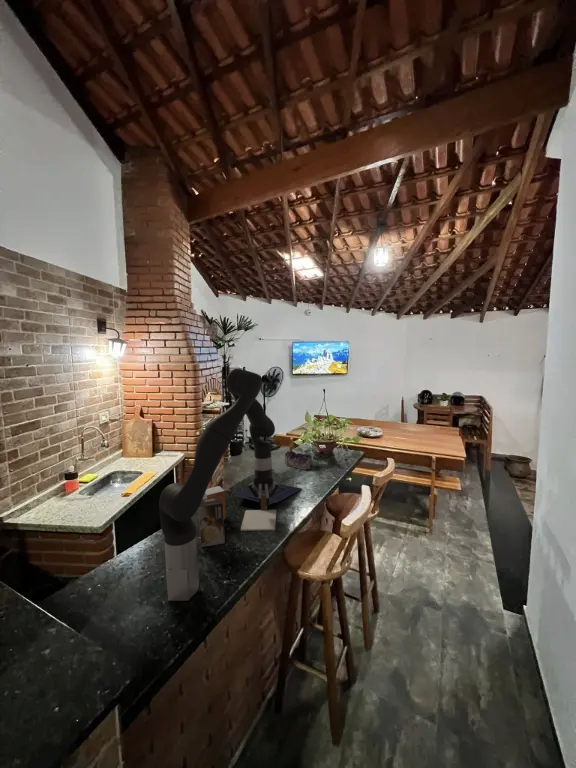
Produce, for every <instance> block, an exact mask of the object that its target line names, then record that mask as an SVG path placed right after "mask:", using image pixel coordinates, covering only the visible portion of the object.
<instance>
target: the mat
mask: <svg viewBox="0 0 576 768" xmlns="http://www.w3.org/2000/svg"><path fill="white" fill-rule="evenodd" d="M276 519H277V509H267V510H266V511H261V509H246V510H245V511H244V515H243V519H242V522H241V526H240V531H244V532H245V531H247V532H251V531H276Z"/></svg>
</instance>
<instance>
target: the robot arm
mask: <svg viewBox="0 0 576 768" xmlns="http://www.w3.org/2000/svg"><path fill="white" fill-rule="evenodd" d="M225 383H226V384H225V385H226V388H227V390H228V392H229V393H230V394H231V396H233V398H234V399H235V402H234V403H233V405H231V407H229V408H228V409H227V410H225V411H224V412H222V413H220V414H219V415H217V416H215V418H213V419H211V420H210V421H209V422H208V423H207V425H206V426H205V428H204V429H203V431H202V433H201V435H200V437H198V438H199V439H198V441H197V443H196V448H195V454H194V461H193V467H192V470H191V472H190V475H189V476H188V478H187V479H186V481H185V482H184V483H180V482H173V483H171V484H168V485H167V486H166V487H165V488H164V489H163V490H162V492H161V494H160V495H159V496H160V497H159V500H158V501H159V502H158V509H159V519H160V521H159V522H160V529H161V531H162V534H163V537H164V555H165V556H164V557H165V571H166V572H165V574H166V589H167V600H168V601H169V602H171V601H172V602H173V601H175V602H176V601H177V602H178V601H179V602H181V601H182V602H183V601H185V602H186V601H190V599H191V598H192V597H193V596H194V595H196V593H197V592H198V591H199V586H200V584H199V567H198V566H199V564H198V563H199V562H198V561H199V560H198V546H197V545H198V543H197V541H198V540H197V526H196V524H195V522H194V521H193V519H192V518H193V516H194V515H196V513H197V511H199V506H200V504H201V501H202V499H203V497H204V494H205V492H206V489H208V486H209V484H210V483H211V480H212V477H213V476H214V474H215V472H216V470H217V467H218V466H219V464H220V462H221V459H222V458H223V456H224V454H225V453H226V451H227V449H228V447H229V446H230V444H231V442H232V441H233V438H234V436H235V433H236V432H237V430H238V428H239V426H240V425H241V422H243V419H244V417H245V415H246V417H247V419H248V421H249V423H250V424H249V427H248V428H249V429H248V430H249V435H250V437H251V441H252V444H253V449H254V450H253V451H254V454H253V455H254V461H253V463H254V464H253V468H254V472H253V473H254V479H253V482H250V483H248V486H247V487H249V489H250V490H251V492H252V493H253V495H254V496H255V497H258V498H259V502H258V505H259V506H261V495H262V490H265V493H266V506H267V507H268V506H269V497H273V495H274V493H275V492H276V490H277V488H278V486H279V484H280V483H279V482H276V481H274V479H273V460H272V447H271V443H270V442H268V441H265V440H262V439H261V438H271V437H272V436H274V435H275V431H276V427H275V423H274V421H273V420H272V419H271V418H270V417H269V416H268V415H267V414H266V411H265V410H264V407H263V406H262V404H261V403H260V402H259V401H258V399H257V397H258V396H259V394H260V392H261V389H262V386H263V378H262V376H261V375H260V374H258V373H256V372H252V371H249V370H246V369H243V368H234V369H233V368H232V369H231V371H230V372H229V373H228V375H227V377H226V382H225ZM272 484H273V489H272V491H271V493H269V488H270V487H271V486H272ZM254 485H255V486H256V487H257V488H258V489H259V493H257V491H256V490H255V488H254Z"/></svg>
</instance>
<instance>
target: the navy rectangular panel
mask: <svg viewBox="0 0 576 768" xmlns="http://www.w3.org/2000/svg"><path fill="white" fill-rule="evenodd" d="M254 488H255V490H256V491H257V493H259V489H258V488H257V487H256V486H255V485H254ZM272 489H273V484H272V486H271V487H270V488H269V493H271V491H272ZM300 490H302V488H301V487H297V486H292V485H286V484H281V483H279V486H278V488H277V490H276V492H275V493H274V495H273V497H269V505H272V504H274V503H275V504H277V503H279V502H282V501H283V500H285V499H287V498H288V497H290V496H291V495H293V494H295V493H297V492H299V491H300ZM262 495H266V493H265V490H262ZM233 497H238V498H241V499H246V500H249V501H254V502H258V503H259V498H258V497H255V496H254V495H253V493H252V492H251V490H250V489H249V487H248V486H247V487H244V488H243V489H241V490H238V492H237V491H236V493H235V494H234V495H233ZM269 505H268V506H269Z"/></svg>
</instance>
